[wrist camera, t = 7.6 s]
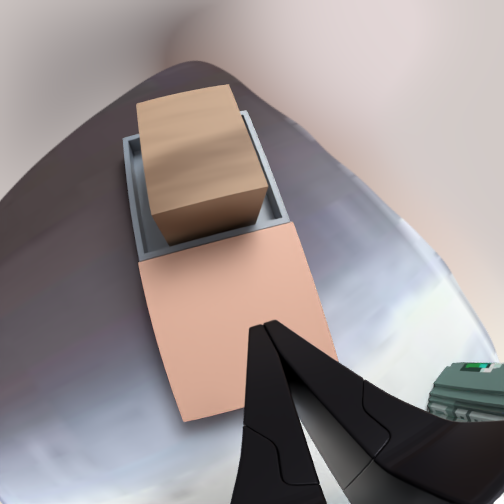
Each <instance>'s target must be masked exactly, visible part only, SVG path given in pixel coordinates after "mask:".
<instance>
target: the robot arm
mask: <svg viewBox="0 0 504 504" xmlns="http://www.w3.org/2000/svg"><path fill="white" fill-rule="evenodd" d="M299 418H300V420H301V422H302V424H303V425H304V427H305V429H306V430H307V432H308V434H309V436H310V437H311V439H312V441H313V442H314V444H315V446H316V448H317V449H318V451H319V453H320V454H321V456H322V458H323V459H324V461H325V463H326V464H327V466H328V468H329V469H330V471H331V473H332V474H333V476H334V477H335V479H336V481H337V482H338V484H339V486H340V487H341V489H342V490H344V491H343V492H344V494H345V495H346V497H347V498H348V500H349V502H350V503H351V504H504V420H497V421H479V422H458V421H451V420H447V419H444V418H441V417H439V416H436V415H434V414H431V413H429V412H427V411H424V410H422V409H420V408H418V407H415V406H413V405H411V404H409V403H406V402H404V401H402V400H400V399H398V398H396V397H394V396H392V395H390V394H388V393H387V392H385V391H383V390H381V389H380V388H378V387H376V386H375V385H373V384H372V383H370V382H369V381H367V380H364V379H363V378H362V377H361V376H359V375H358V374H356V373H354V372H353V371H351V370H350V369H348V368H347V367H345V366H344V365H342V364H341V363H339V362H338V361H336V360H335V359H333V358H332V357H330V356H329V355H327V354H326V353H324V352H323V351H321V350H320V349H318V348H317V347H315V346H314V345H312V344H311V343H309V342H308V341H306V340H305V339H304V338H302V337H301V336H299V335H298V334H296V333H295V332H293V331H292V330H291V329H289V328H288V327H286V326H285V325H283V324H282V323H281V322H279V321H278V320H271V321H268V322H265V323H264V324H263V325H262V324H258V325H255V326H252V327H250V328H249V334H248V351H247V369H246V386H245V403H244V421H243V425H244V426H243V435H242V447H241V456H240V462H239V467H238V473H237V477H236V482H235V486H234V490H233V494H232V499H231V503H230V504H327V502H326V499H325V497H324V494H323V491H322V488H321V486H320V485H319V484H320V482H319V479H318V476H317V473H316V470H315V467H314V463H313V460H312V457H311V454H310V451H309V448H308V445H307V442H306V438H305V435H304V432H303V429H302V426H301V423H300V420H299Z"/></svg>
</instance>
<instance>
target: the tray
mask: <svg viewBox="0 0 504 504" xmlns="http://www.w3.org/2000/svg"><path fill="white" fill-rule="evenodd" d="M240 114H241V116H242V119H243V121H244V124H245V126H246V129H247V131H248V134H249V136H250V139H251V142H252V144H253V147H254V149H255V152H256V155H257V157H258V160H259V163H260V165H261V168H262V171H263V173H264V176H265V179H266V181H267V184H268V189H267V192H266V195H265V198H264V201H263V204H262V207H261V210H260V213H259V216H258V219H257V222H256V224H255V225H251V226H247V227H243V228H239V229H235V230H231V231H227V232H223V233H219V234H215V235H212V236H208V237H204V238H200V239H196V240H193V241H189V242H185V243H181V244H178V245H174V246H170V247H169V245H168V243H167V241H166V240H165V238H164V236H163V235H162V233H161V231H160V229H159V228H158V226H157V224H156V222H155V221H154V219H153V217H152V215H151V210H150V204H149V199H148V193H147V186H146V180H145V173H144V166H143V159H142V152H141V144H140V135H139V134H136V135H133V136H130V137H126V138H123V146H124V158H125V168H126V178H127V186H128V194H129V202H130V209H131V216H132V222H133V228H134V234H135V240H136V246H137V251H138V256H139V261H140V262H142V261H145V260H149V259H153V258H156V257H160V256H164V255H167V254H171V253H175V252H178V251H182V250H186V249H190V248H193V247H197V246H201V245H205V244H208V243H212V242H216V241H220V240H224V239H227V238H231V237H235V236H239V235H243V234H247V233H251V232H255V231H258V230H262V229H266V228H270V227H274V226H278V225H282V224H286V223H290V220H289V217H288V215H287V212H286V209H285V206H284V204H283V201H282V198H281V196H280V193H279V190H278V188H277V185H276V182H275V180H274V177H273V175H272V172H271V169H270V167H269V164H268V162H267V159H266V157H265V154H264V151H263V149H262V146H261V144H260V141H259V139H258V136H257V134H256V132H255V129H254V127H253V124H252V122H251V119H250V117H249V115H248V112H247V110H246V111H240Z"/></svg>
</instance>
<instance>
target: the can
mask: <svg viewBox="0 0 504 504" xmlns="http://www.w3.org/2000/svg"><path fill="white" fill-rule="evenodd" d="M434 385H435V387H434V388H433V390H432V391H431V392H430V394H431V397H430V398H429V401H430V403H429V404H428V405H427V406H428V407H429V409H430V412H429V413H431V414H434V415H436V416H439V417H441V418H444V419H447V420H451V421H458V422H479V421H497V420H504V363H464V362H460V363H453V364H452V365H451V366H450V367H448V366H447V367H446V368H445V369H444V371H443V372H442V373H441V374H440V376H439V377H438V378H437V380H436V381H435V382H434Z"/></svg>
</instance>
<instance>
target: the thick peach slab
mask: <svg viewBox="0 0 504 504" xmlns="http://www.w3.org/2000/svg"><path fill="white" fill-rule="evenodd" d="M138 265H139V270H140V275H141V279H142V284H143V288H144V293H145V297H146V301H147V305H148V310H149V314H150V317H151V321H152V325H153V329H154V333H155V336H156V340H157V343H158V347H159V350H160V354H161V357H162V360H163V363H164V367H165V370H166V373H167V376H168V379H169V382H170V385H171V388H172V391H173V394H174V397H175V400H176V402H177V405H178V408H179V411H180V413H181V416H182V419H183V421H184V422H187V421H191V420H196V419H200V418H205V417H209V416H213V415H217V414H221V413H225V412H228V411H232V410H236V409H239V408H243V407H244V403H245V386H246V369H247V351H248V334H249V328H250V327H252V326H255V325H258V324H262V325H263V324H264V323H265V322H268V321H271V320H278V321H279V322H281V323H282V324H283V325H285V326H286V327H288V328H289V329H291V330H292V331H293V332H295V333H296V334H298V335H299V336H301V337H302V338H304V339H305V340H306V341H308V342H309V343H311V344H312V345H314V346H315V347H317V348H318V349H320V350H321V351H323V352H324V353H326V354H327V355H329V356H330V357H332V358H333V359H335V360H336V361H338V358H337V354H336V351H335V348H334V344H333V341H332V338H331V334H330V331H329V328H328V325H327V321H326V318H325V315H324V312H323V309H322V306H321V302H320V299H319V296H318V293H317V290H316V287H315V284H314V281H313V278H312V275H311V272H310V269H309V266H308V263H307V260H306V257H305V254H304V252H303V249H302V246H301V243H300V240H299V237H298V235H297V232H296V229H295V226H294V223H293V222H290V223H286V224H282V225H278V226H274V227H270V228H266V229H262V230H258V231H255V232H251V233H247V234H243V235H239V236H235V237H231V238H227V239H224V240H220V241H216V242H212V243H208V244H205V245H201V246H197V247H193V248H190V249H186V250H182V251H178V252H175V253H171V254H167V255H164V256H160V257H156V258H153V259H149V260H145V261H142V262H138ZM338 362H339V361H338Z"/></svg>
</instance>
